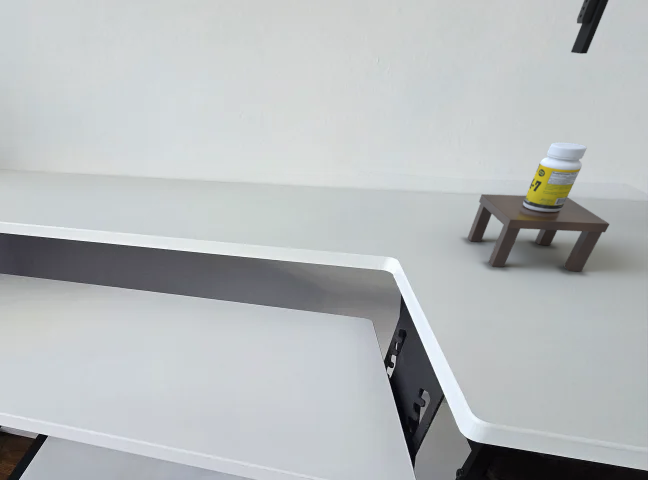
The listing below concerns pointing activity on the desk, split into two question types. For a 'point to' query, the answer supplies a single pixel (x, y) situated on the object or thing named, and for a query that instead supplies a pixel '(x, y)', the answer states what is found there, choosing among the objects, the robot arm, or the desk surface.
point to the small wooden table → (537, 227)
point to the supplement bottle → (555, 177)
